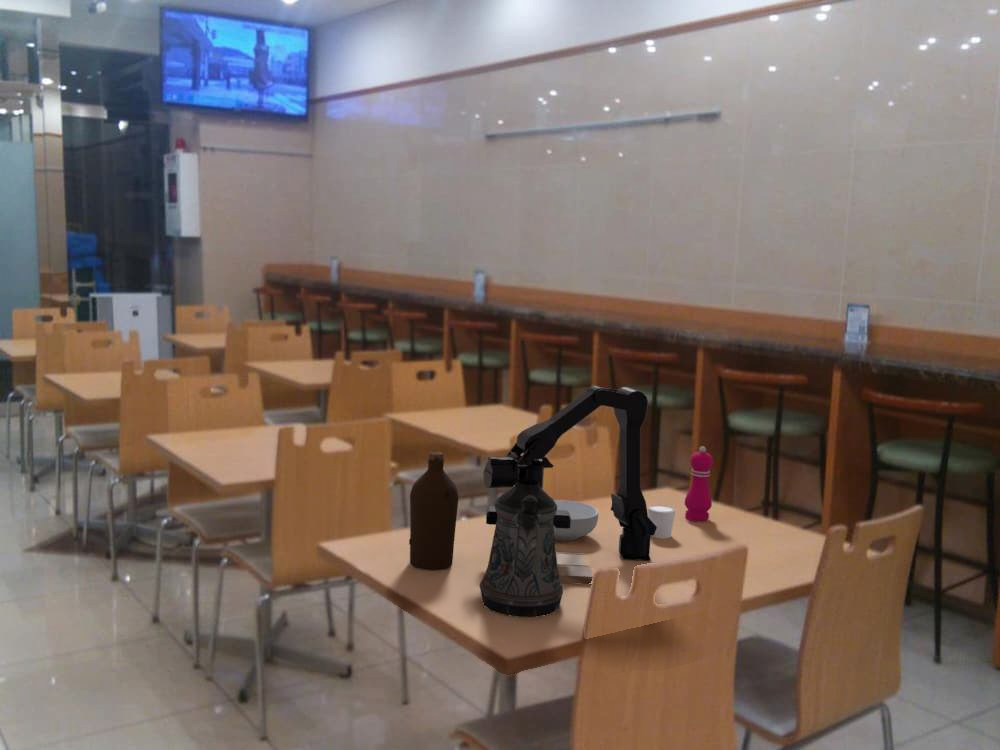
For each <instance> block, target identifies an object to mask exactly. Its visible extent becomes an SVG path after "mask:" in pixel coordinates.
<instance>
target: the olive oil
mask: <svg viewBox="0 0 1000 750" xmlns="http://www.w3.org/2000/svg"><path fill="white" fill-rule="evenodd" d="M428 456H429V457H428V459H427V460H428V461H427V462H428V463H427V464H428V465H427V470H426V471H425V472H424V473H423V474H422V475H420V477H419V478H418V479H417V480H416V481H415V482H414V483H413V485H412V487H411V490H410V492H409V493H410V494H409V540H408V541H409V542H408V545H409V563H410V565H411V566H412V567H414V568H417V569H419V570H426V571H441V570H442V571H443V570H446V569H448V568H451V567H452V565H453V562H454V561H453V559H454V547H455V537H456V536H455V535H456V528H457V527H456V525H457V518H458V517H457V516H458V507H459V498H460V497H459V491H458V487H457V485H456V484H455V483H454V481H453V479H451V478H450V476H449V475H448V474H447V473H446V471H445V470H444V463H445V460H444V452H442V451H436V450H435V451H429V454H428Z"/></svg>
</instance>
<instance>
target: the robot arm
mask: <svg viewBox="0 0 1000 750" xmlns="http://www.w3.org/2000/svg"><path fill="white" fill-rule="evenodd" d="M648 405H649V401H648V397H647V395H646V394H645V393H643V392H642V391H639V390H636V389H633V388H631V387H626V386H622V387H620V388H619V389H615V388H614V389H613V388H607V387H600V386H597V385H591V386H590V387H588V388H587V389H586V391H584V392H583V393H582V394H580V395H579V396H578V397H576V398H575V399H574V400H572V401H571V402H570V403H568V404H567V405H566V406H564V407H563V408H562V409H560V410H558V412H557V413H555V414H553V415H552V416H551V417H550V418H549V419H546V420H544V421H542V422H539V423H536V424H535V423H534V424H533V425H532V426H529V427H527V428H526V429H524V430H522V431H521V432H520V433H519V434H518V435H517V438H516V442H515V443H514V445H512V447H511V448H510V450H509V451H508V452H507V454H506V457H504V456H503V457H495V456H488V458H487V462H486V464H485V466H484V468H483V481H484V482H483V483H484V485H485V487H486V489H505V488H509V489H511V488H512V487H514V486H515V484H516V482H517V480H521V479H531V480H536V481H538V483H539V486H540V487H541V488H542V489H543V487H544V473H545V472H544V471H545V469H552V468H554V464H553V463H551V461H550V460H549V459H548V457H547V456H546V455H548V453H549V452H550V451H552V450H553V448H554V447H555V445H556V444H557V443H558V441H559V439H560V438H561V437H562V436H563V435H564V434H565V433H567V432H568V431H569V430H570V429H572V428H573V427H575V426H576V425H578V423H580V422H581V421H583V420H584V419H585V418H587V417H588V416H589V415H590V414H592V413H593V412H594V411H596V410H597V409H598V408H600V407H602V406H604V407H608V408H609V407H610V408H613V410H614V411H613V412H614V415H615V418H616V421H617V424H618V426H619V488H618V490H617V492H616V493H610V494H611V495H610V497H611V498H610V499H611V507H610V511H612V513H613V516H614V517H615V518H616V519H617V520H618V524H619V527H621V528H622V532H621V533H622V534H620V535H619V538H618V539H619V541H618V553H619V555H620V556H621V558H622V559H623V560H627V561H628V560H631V561H632V560H633V561H646V562H647V561H649V562H650V561H651V560H652V558H651V557H650V552H651V551H650V550H651V538H652V537H651V536H652V535H654V534H655V531H656V529H657V527H656V525H655V524H654V523H653V522H652V521H651V520H650V519H649V518H648V507H647V501H646V499H645V497H644V494H643V491H642V487H641V485H642V484H641V479H642V478H641V477H642V476H641V475H642V474H641V473H642V472H641V471H642V470H641V469H642V468H641V460H642V459H641V457H642V456H641V455H642V454H641V451H642V450H641V449H642V448H641V445H642V444H641V441H642V440H641V429H642V426H643V424H644V422H645V420H646V417H647V413H648ZM543 490H544V489H543ZM496 523H497V513H496V510H495V505H494V506H492V505H489V506H488V507H487V508H486V518H485V524H486V525H490V526H491V525H492V526H496ZM570 523H571V518H570V514H569V512H568V511H567V510H557V511H556V514H555V516H554V518H553V525H554V526H555V527H556V528H565V529H568V528H570Z"/></svg>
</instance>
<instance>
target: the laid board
mask: <svg viewBox="0 0 1000 750" xmlns="http://www.w3.org/2000/svg"><path fill="white" fill-rule="evenodd" d="M557 566H558V572H559V577H560V581H561V584H573V583H581V584H580V585H590V584H589V583H591V581H592V578H593V579H594V575H593V573H592V569H591V566H590V565H589V566H588V565H587V566H575V565H557Z"/></svg>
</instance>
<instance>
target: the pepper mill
mask: <svg viewBox="0 0 1000 750" xmlns="http://www.w3.org/2000/svg"><path fill="white" fill-rule="evenodd" d="M698 450H699V451H696V452H694V453H693V454H692V455H691V456H690V460H689V461H690V462H689V463H690V466H691V467H692V469H690V471H691V472H690V474H691V475H692V480H691V485H690V487H689V489H688V491H687V493H686V495H685V499H684V505H685V508H686V509H687V510H685V516H684V517H685V518H686V519H687V520H688V521H691V520H692V521H693V522H697V521H705V522H708V521H709V520H708V519H709V518H710V513H709V512H708V511H709V510H711V508H712V505H713V503H712V502H713V501H712V497H711V494H710V490H709V485H708V483H709V481H708V480H709V477H710V476H711V474H710V473H711V468H713V466H714V465H713V463H714V460H713V457H712V455H711V454H710V453H708V452H706V450H707V448H706V447H705V446H703V445H702V446H700V447H699V448H698ZM707 520H708V521H707Z"/></svg>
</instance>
